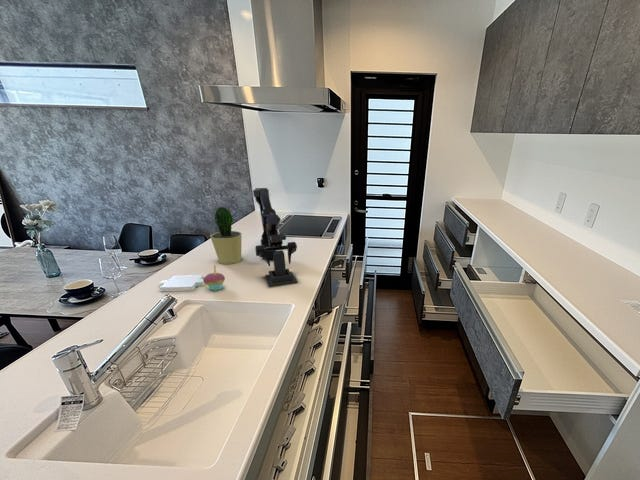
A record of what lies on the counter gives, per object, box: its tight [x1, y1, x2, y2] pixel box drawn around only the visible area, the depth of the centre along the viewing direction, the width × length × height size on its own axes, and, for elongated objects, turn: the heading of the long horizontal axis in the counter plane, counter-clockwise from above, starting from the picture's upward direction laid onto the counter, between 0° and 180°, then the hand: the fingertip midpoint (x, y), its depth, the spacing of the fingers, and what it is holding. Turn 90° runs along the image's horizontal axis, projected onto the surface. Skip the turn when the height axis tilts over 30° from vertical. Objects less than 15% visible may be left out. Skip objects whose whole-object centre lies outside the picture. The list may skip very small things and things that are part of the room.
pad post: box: [272, 250, 287, 277], centre depth 143 cm, size 4×4×13 cm
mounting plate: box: [159, 274, 206, 292], centre depth 137 cm, size 18×13×2 cm
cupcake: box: [203, 264, 226, 291], centre depth 133 cm, size 9×8×12 cm
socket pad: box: [264, 268, 298, 288], centre depth 145 cm, size 13×13×4 cm
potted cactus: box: [209, 206, 243, 265], centre depth 162 cm, size 15×15×30 cm
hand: (279, 264), depth 141 cm, fingers open, 9 cm apart
